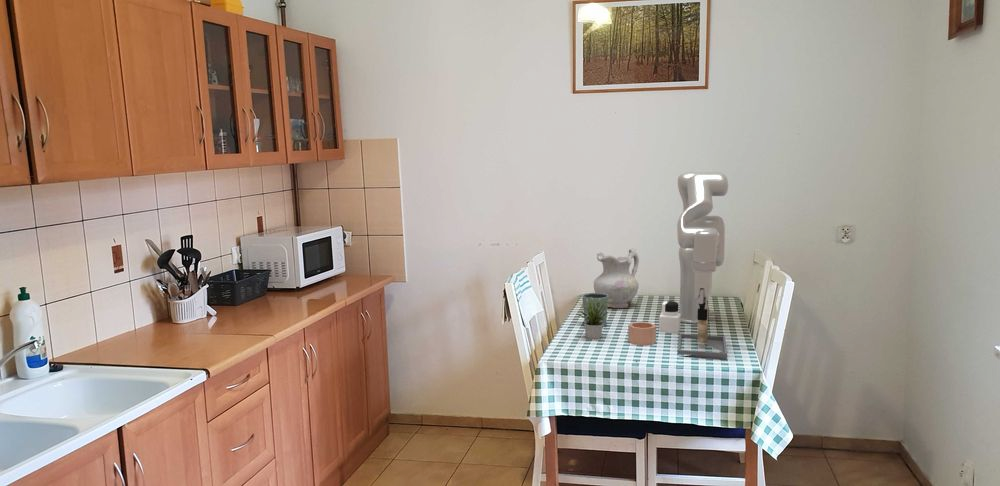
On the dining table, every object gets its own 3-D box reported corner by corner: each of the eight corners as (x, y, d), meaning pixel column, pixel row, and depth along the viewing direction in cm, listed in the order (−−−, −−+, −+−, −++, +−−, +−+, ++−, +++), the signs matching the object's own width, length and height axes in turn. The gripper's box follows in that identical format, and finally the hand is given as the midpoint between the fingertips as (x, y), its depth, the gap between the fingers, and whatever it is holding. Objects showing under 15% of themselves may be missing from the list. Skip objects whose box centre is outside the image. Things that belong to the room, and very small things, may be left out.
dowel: (703, 339, 254) (705, 302, 252) (708, 342, 251) (710, 304, 249) (695, 340, 253) (696, 302, 251) (700, 343, 250) (701, 304, 248)
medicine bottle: (680, 331, 277) (680, 300, 275) (678, 336, 270) (679, 304, 268) (661, 329, 279) (661, 299, 277) (658, 334, 272) (659, 303, 271)
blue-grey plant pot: (610, 327, 283) (610, 297, 282) (584, 328, 282) (585, 298, 281) (604, 321, 293) (604, 292, 292) (579, 322, 292) (580, 292, 291)
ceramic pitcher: (616, 300, 336) (613, 247, 334) (651, 304, 321) (648, 248, 319) (586, 308, 321) (582, 252, 319) (621, 312, 307) (618, 254, 305)
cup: (647, 340, 265) (647, 321, 264) (659, 346, 256) (659, 327, 255) (624, 342, 263) (625, 323, 262) (636, 348, 254) (636, 329, 253)
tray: (679, 339, 265) (679, 333, 265) (725, 342, 261) (725, 336, 261) (677, 356, 244) (677, 350, 244) (727, 360, 240) (727, 353, 240)
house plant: (624, 339, 266) (625, 296, 263) (601, 347, 256) (601, 302, 254) (593, 333, 275) (593, 290, 273) (570, 340, 266) (570, 296, 264)
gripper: (696, 262, 257) (695, 312, 260) (689, 269, 242) (688, 323, 245) (718, 263, 255) (716, 314, 257) (713, 271, 240) (711, 325, 242)
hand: (702, 318), depth 251 cm, fingers closed on dowel, 3 cm apart
